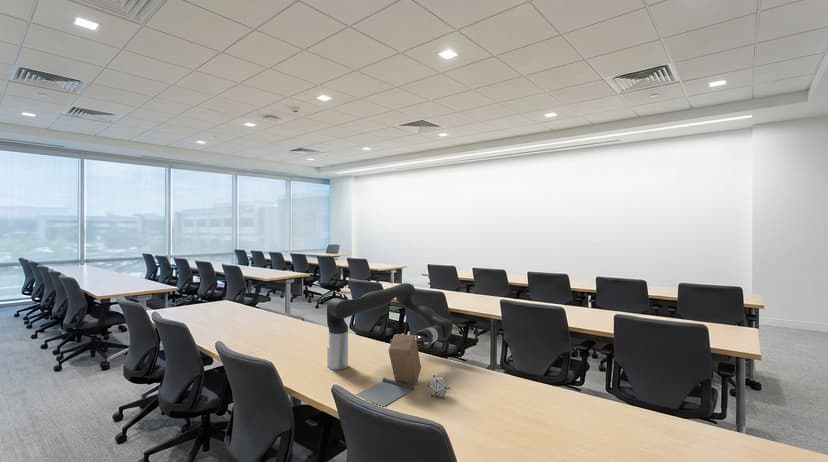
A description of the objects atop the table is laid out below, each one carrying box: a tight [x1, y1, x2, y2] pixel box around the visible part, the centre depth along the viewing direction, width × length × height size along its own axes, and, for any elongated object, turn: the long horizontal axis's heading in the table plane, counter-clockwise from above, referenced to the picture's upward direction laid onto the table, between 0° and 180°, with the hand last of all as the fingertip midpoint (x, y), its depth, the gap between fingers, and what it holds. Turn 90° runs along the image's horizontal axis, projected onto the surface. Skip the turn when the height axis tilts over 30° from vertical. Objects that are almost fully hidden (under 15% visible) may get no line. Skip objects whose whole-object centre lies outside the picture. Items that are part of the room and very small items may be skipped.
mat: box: [355, 377, 415, 408], centre depth 157 cm, size 16×20×2 cm
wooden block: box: [388, 333, 422, 386], centre depth 166 cm, size 10×10×20 cm
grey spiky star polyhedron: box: [426, 374, 451, 400], centre depth 154 cm, size 9×8×10 cm
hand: (405, 345), depth 169 cm, fingers closed
